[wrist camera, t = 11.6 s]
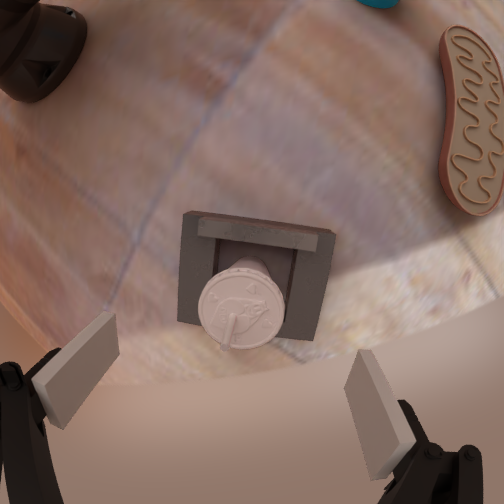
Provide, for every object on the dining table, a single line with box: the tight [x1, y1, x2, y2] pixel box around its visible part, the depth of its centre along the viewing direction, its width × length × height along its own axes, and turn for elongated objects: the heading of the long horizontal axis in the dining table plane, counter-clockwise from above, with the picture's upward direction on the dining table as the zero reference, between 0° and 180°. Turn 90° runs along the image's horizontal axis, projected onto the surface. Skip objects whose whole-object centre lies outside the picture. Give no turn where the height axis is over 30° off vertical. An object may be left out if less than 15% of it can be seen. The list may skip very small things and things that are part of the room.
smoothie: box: [198, 256, 285, 352], centre depth 23 cm, size 6×6×14 cm
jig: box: [177, 211, 336, 341], centre depth 27 cm, size 14×11×5 cm
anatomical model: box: [438, 25, 504, 216], centre depth 22 cm, size 23×10×5 cm, turn 172°
